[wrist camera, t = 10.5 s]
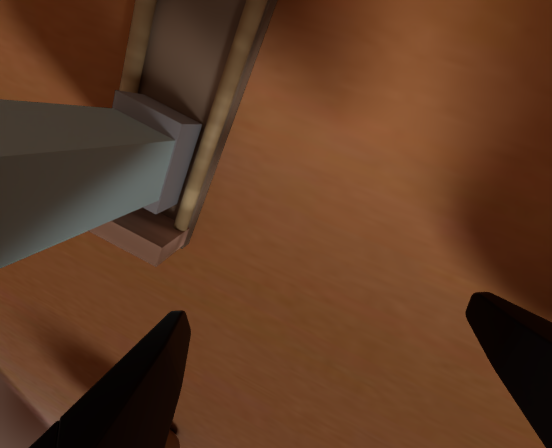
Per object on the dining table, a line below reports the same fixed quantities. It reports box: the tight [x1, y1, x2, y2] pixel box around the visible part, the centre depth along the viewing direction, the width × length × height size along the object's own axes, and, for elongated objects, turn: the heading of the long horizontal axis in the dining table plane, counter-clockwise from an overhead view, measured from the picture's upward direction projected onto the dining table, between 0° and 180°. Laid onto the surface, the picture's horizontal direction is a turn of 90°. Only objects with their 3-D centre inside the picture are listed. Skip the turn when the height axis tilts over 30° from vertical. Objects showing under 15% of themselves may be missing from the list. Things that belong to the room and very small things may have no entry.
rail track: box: [89, 0, 277, 267], centre depth 16 cm, size 20×7×4 cm, turn 154°
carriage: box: [0, 90, 202, 268], centre depth 12 cm, size 6×4×14 cm
